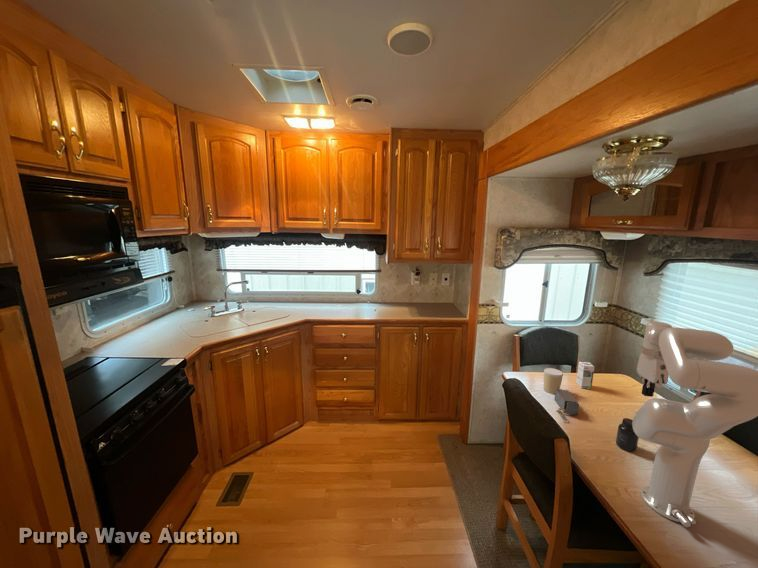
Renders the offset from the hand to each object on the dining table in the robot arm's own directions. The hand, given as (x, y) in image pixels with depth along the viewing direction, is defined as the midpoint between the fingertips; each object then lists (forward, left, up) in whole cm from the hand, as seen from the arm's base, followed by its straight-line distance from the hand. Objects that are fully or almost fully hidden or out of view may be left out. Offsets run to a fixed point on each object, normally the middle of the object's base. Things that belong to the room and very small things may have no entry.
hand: (647, 395), depth 117 cm
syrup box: (+51, -3, -25) cm, 57 cm away
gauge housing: (+23, +19, -25) cm, 39 cm away
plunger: (+25, +19, -24) cm, 39 cm away
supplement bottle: (0, +4, -25) cm, 25 cm away
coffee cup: (+42, +18, -25) cm, 53 cm away
